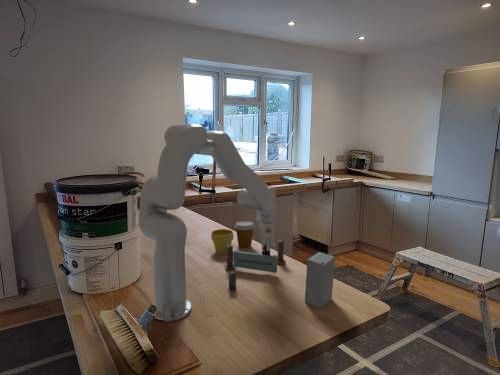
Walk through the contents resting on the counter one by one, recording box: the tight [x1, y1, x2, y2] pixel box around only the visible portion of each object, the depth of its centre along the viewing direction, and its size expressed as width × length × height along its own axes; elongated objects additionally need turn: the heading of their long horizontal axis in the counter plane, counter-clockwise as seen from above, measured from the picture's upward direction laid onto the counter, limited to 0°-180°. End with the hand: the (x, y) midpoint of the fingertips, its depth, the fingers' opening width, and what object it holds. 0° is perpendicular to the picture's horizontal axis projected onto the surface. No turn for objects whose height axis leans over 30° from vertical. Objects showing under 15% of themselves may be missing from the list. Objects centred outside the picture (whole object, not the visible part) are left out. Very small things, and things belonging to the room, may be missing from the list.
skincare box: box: [304, 251, 336, 309], centre depth 108 cm, size 8×7×16 cm
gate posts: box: [224, 239, 287, 291], centre depth 129 cm, size 28×20×10 cm
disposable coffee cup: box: [234, 220, 255, 250], centre depth 160 cm, size 10×10×12 cm
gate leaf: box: [233, 249, 278, 274], centre depth 131 cm, size 18×2×7 cm, turn 71°
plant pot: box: [210, 228, 234, 255], centre depth 154 cm, size 10×10×10 cm
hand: (266, 260), depth 133 cm, fingers closed
